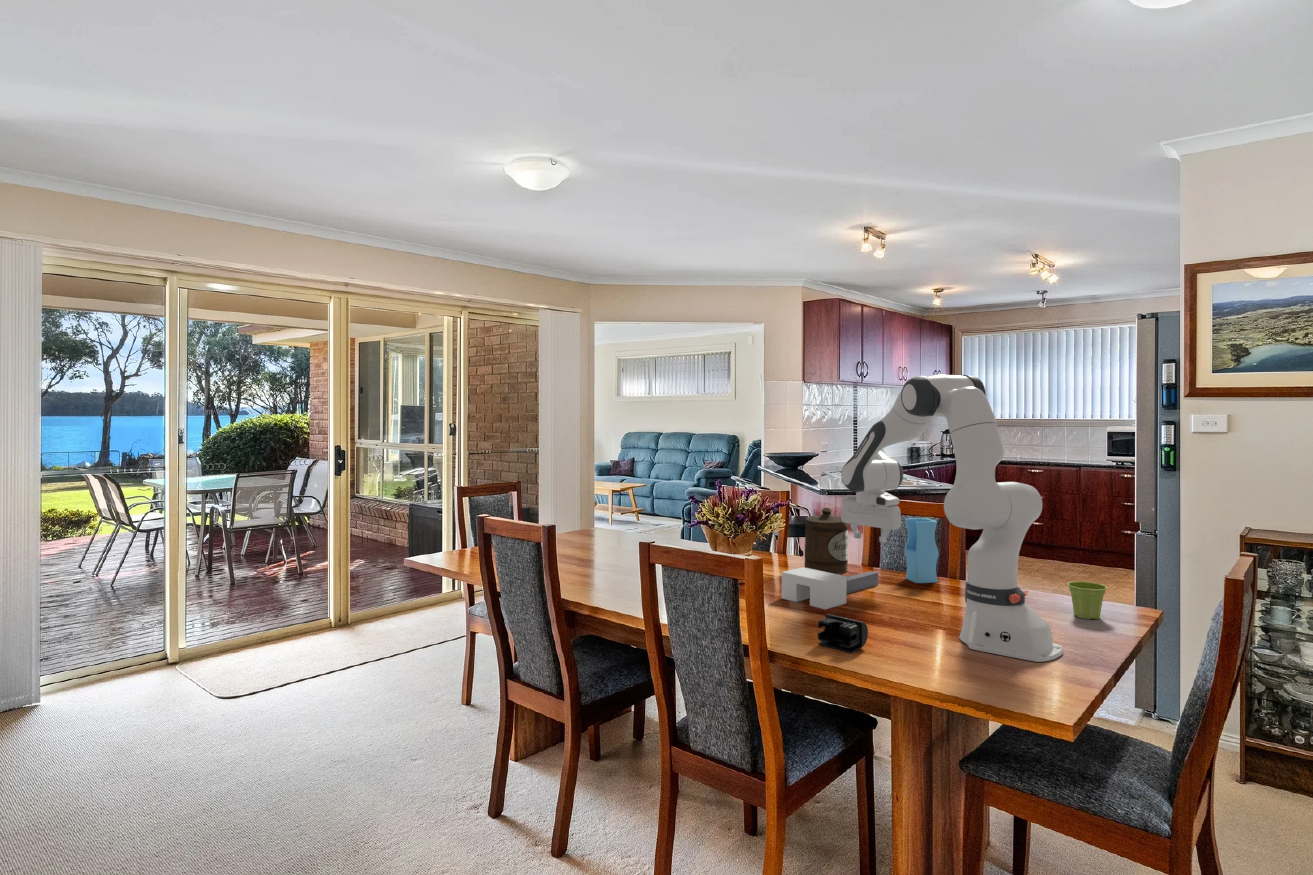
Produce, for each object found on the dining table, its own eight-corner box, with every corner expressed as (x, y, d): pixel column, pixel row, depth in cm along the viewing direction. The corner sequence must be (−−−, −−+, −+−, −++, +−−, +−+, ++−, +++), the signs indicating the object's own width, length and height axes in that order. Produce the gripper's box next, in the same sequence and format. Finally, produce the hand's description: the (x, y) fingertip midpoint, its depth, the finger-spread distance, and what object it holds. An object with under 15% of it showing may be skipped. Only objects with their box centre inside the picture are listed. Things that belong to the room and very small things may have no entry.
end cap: (868, 647, 175) (868, 619, 175) (852, 654, 170) (853, 626, 170) (831, 638, 182) (832, 611, 182) (816, 644, 177) (816, 617, 177)
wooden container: (840, 576, 249) (841, 512, 248) (798, 571, 256) (799, 509, 255) (852, 568, 262) (853, 506, 261) (812, 563, 269) (812, 504, 268)
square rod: (878, 585, 236) (879, 571, 236) (829, 598, 220) (830, 584, 219) (869, 583, 239) (869, 569, 239) (820, 596, 222) (820, 582, 222)
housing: (846, 603, 214) (846, 576, 214) (825, 609, 208) (825, 581, 208) (802, 592, 227) (802, 567, 226) (781, 598, 220) (781, 571, 220)
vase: (903, 577, 246) (904, 518, 245) (925, 576, 248) (925, 517, 247) (916, 583, 238) (916, 522, 238) (938, 582, 240) (939, 521, 239)
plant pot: (1062, 616, 200) (1062, 585, 200) (1072, 609, 207) (1073, 579, 206) (1101, 623, 194) (1101, 591, 193) (1110, 616, 200) (1111, 585, 200)
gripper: (837, 495, 241) (837, 536, 241) (892, 501, 225) (892, 545, 226) (848, 493, 245) (848, 534, 246) (904, 499, 229) (903, 543, 230)
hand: (869, 540), depth 236 cm, fingers open, 8 cm apart
